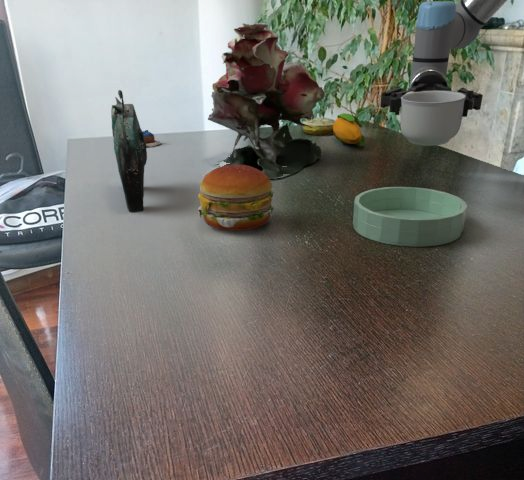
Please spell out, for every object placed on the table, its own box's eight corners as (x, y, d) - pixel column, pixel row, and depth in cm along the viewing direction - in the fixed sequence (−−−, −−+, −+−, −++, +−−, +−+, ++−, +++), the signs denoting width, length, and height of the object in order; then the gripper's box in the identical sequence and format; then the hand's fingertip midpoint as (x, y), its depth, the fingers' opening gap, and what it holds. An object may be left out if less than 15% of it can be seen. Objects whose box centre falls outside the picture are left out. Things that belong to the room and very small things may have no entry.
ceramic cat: (120, 185, 124) (106, 85, 114) (150, 183, 125) (139, 84, 115) (120, 214, 107) (103, 99, 97) (154, 211, 109) (141, 97, 98)
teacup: (469, 147, 99) (477, 97, 95) (409, 150, 97) (415, 100, 93) (435, 131, 110) (442, 86, 106) (382, 134, 109) (386, 89, 105)
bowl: (457, 213, 106) (461, 189, 103) (467, 250, 90) (472, 222, 88) (356, 208, 109) (358, 184, 107) (349, 242, 94) (350, 216, 91)
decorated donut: (343, 131, 173) (344, 118, 171) (325, 137, 165) (326, 123, 163) (314, 127, 178) (315, 115, 176) (295, 133, 171) (296, 120, 169)
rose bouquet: (331, 154, 147) (337, 20, 131) (281, 182, 125) (282, 25, 109) (244, 145, 157) (240, 20, 141) (184, 170, 135) (172, 24, 119)
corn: (354, 108, 162) (373, 120, 145) (354, 136, 166) (373, 151, 149) (328, 110, 162) (345, 123, 145) (329, 138, 166) (345, 154, 149)
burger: (266, 238, 96) (266, 178, 91) (189, 233, 98) (184, 175, 93) (279, 213, 107) (279, 158, 102) (209, 209, 109) (206, 155, 104)
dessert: (125, 143, 157) (131, 123, 157) (136, 153, 164) (141, 134, 164) (151, 147, 155) (156, 127, 155) (161, 157, 162) (166, 137, 162)
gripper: (484, 111, 117) (497, 132, 98) (369, 108, 121) (362, 128, 103) (491, 71, 113) (507, 84, 94) (372, 69, 117) (365, 82, 99)
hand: (431, 107), depth 99 cm, fingers closed on teacup, 11 cm apart
